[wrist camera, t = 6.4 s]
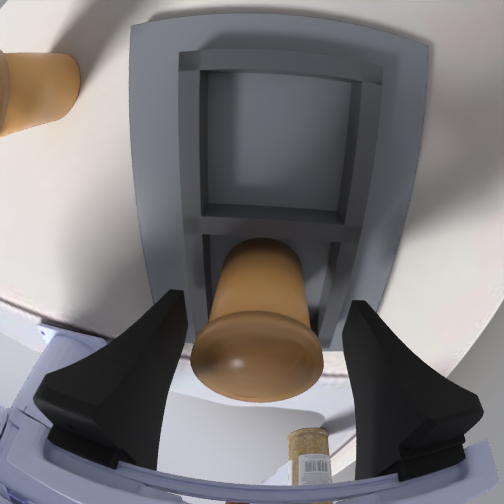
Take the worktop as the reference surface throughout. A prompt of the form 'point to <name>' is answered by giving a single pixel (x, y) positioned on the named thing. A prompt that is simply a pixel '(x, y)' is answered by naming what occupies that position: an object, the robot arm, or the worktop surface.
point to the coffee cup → (235, 503)
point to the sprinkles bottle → (309, 458)
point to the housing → (274, 152)
